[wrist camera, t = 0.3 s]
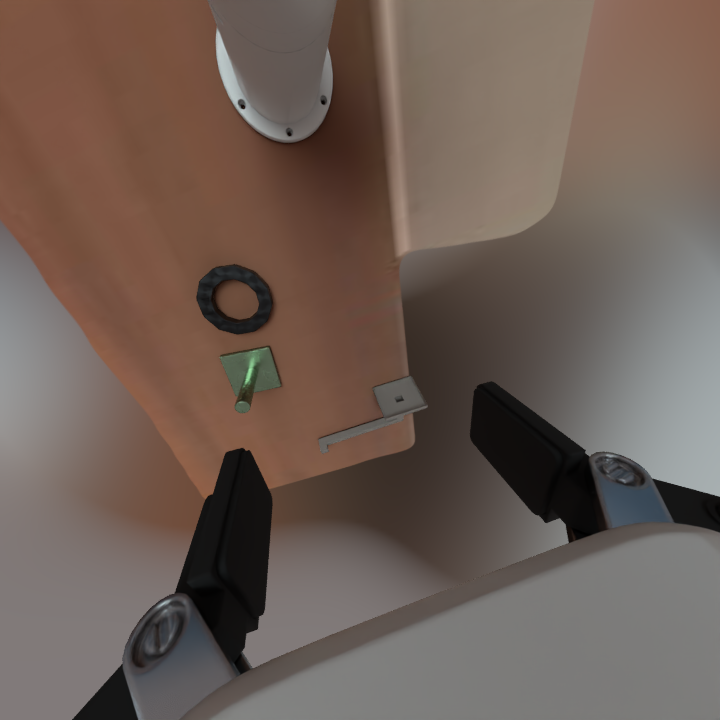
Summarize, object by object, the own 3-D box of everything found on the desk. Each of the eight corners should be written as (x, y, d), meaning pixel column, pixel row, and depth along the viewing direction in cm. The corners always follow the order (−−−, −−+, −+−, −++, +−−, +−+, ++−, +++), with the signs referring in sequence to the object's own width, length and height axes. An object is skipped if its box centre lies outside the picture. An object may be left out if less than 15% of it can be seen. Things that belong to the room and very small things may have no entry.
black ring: (189, 270, 37) (184, 272, 35) (261, 260, 38) (260, 261, 37) (216, 335, 41) (213, 339, 40) (278, 323, 43) (278, 327, 41)
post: (220, 354, 43) (200, 390, 33) (269, 345, 44) (263, 377, 35) (236, 393, 47) (222, 435, 37) (281, 383, 48) (278, 422, 38)
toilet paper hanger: (317, 429, 58) (323, 461, 53) (306, 408, 51) (312, 442, 46) (409, 399, 61) (423, 427, 56) (411, 375, 54) (427, 405, 49)
